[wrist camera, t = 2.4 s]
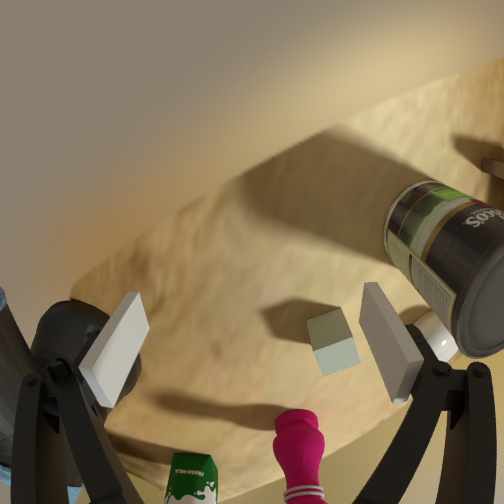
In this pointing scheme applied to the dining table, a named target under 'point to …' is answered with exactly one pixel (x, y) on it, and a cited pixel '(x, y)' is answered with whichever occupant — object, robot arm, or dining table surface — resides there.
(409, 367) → the robot arm
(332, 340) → the sage block
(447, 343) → the white glossy round part
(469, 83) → the dining table surface
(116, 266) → the dining table surface
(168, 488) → the milk carton
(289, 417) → the pepper mill
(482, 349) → the coffee can
